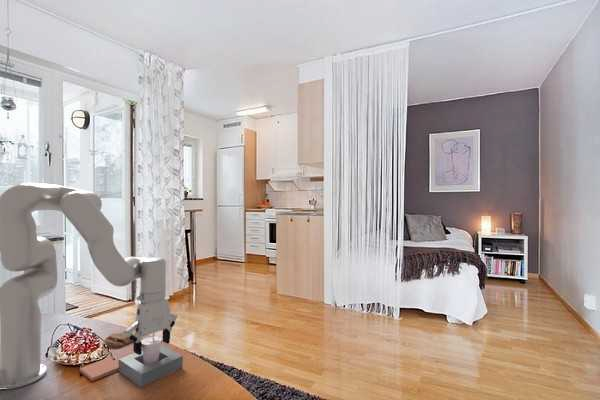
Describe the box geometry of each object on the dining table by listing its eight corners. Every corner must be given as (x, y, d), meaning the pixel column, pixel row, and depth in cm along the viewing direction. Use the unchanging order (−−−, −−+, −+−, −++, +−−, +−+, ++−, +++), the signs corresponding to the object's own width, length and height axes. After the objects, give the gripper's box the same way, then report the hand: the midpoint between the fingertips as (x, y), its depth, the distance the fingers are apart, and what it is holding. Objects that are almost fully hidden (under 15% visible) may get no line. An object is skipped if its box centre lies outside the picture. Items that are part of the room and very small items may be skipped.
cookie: (139, 341, 126) (139, 333, 126) (110, 351, 117) (111, 343, 117) (126, 334, 131) (126, 327, 131) (98, 344, 122) (98, 336, 122)
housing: (141, 387, 96) (141, 374, 95) (118, 371, 104) (118, 359, 104) (182, 367, 107) (182, 355, 107) (158, 354, 115) (159, 343, 115)
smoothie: (155, 375, 102) (157, 331, 102) (136, 374, 102) (137, 330, 102) (164, 364, 108) (165, 323, 108) (146, 364, 109) (147, 323, 108)
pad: (91, 381, 98) (92, 378, 98) (79, 371, 103) (79, 368, 103) (122, 368, 105) (122, 365, 105) (109, 360, 110) (109, 357, 110)
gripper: (132, 305, 96) (131, 362, 96) (183, 291, 110) (182, 341, 110) (120, 300, 100) (119, 354, 100) (170, 287, 114) (169, 335, 114)
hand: (152, 347), depth 105 cm, fingers open, 9 cm apart
